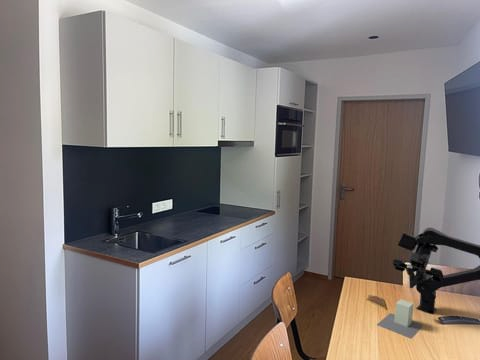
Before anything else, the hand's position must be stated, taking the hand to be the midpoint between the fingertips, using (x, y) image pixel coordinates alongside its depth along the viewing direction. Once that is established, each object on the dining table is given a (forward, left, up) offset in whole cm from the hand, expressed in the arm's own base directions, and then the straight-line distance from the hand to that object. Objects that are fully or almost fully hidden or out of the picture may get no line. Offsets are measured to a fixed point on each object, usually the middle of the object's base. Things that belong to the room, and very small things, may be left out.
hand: (410, 287), depth 141 cm
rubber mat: (+9, 0, -13) cm, 16 cm away
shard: (-5, -14, -14) cm, 20 cm away
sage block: (+6, 0, -13) cm, 14 cm away
